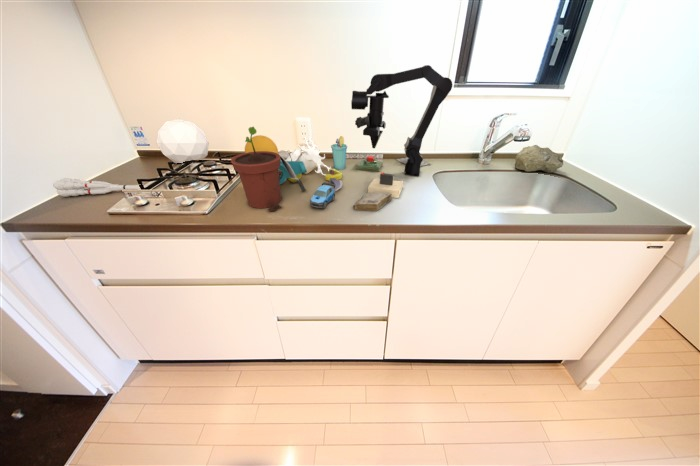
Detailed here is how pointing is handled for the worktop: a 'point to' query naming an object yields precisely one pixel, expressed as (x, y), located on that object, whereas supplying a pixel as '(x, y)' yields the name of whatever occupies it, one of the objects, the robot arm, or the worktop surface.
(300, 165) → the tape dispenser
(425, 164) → the napkin holder
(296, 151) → the white small pieces
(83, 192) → the rocket model
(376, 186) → the panel
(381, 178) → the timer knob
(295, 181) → the fruit
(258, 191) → the potted plant
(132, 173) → the worktop surface
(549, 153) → the rock
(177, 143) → the geometric form
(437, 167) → the worktop surface
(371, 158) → the power button
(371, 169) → the box
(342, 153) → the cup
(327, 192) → the toy car
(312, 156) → the white branched figurine
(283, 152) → the seashell
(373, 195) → the stone
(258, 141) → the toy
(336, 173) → the knife
